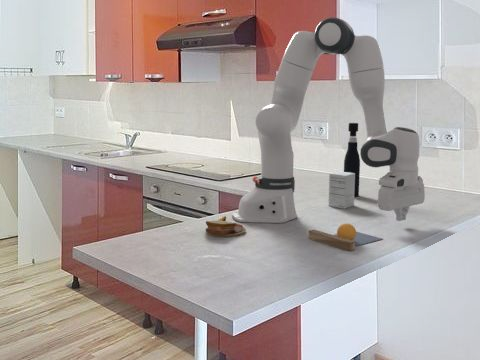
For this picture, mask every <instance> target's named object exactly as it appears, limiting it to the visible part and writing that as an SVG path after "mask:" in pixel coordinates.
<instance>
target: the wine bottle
mask: <svg viewBox="0 0 480 360" xmlns="http://www.w3.org/2000/svg"><path fill="white" fill-rule="evenodd" d="M347 131H348V132H349V138H348V142H347V150H346V153H345V156H344V160H343V172H350V173H355V191H354V198H358V197H359V196H360V175H361V174H360V173H361V172H360V170H361V169H360V168H361V160H360V158H361V157H360V154H359V150H358V138H357V132H359V123H357V122H349V123H348V130H347Z"/></svg>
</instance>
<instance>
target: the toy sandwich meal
mask: <svg viewBox="0 0 480 360" xmlns="http://www.w3.org/2000/svg"><path fill="white" fill-rule="evenodd" d="M226 220H227V216H222V217H221V218H220V219H218V220H206V221H205V224H206V226H207V227H206V228H205V232H206V233H207V234H208V235H210V236H212V237H218V238H233V237H239V236H242V235H243V234H245V232H246V231H247V229H246V228H245V227H244V226H243V224H239V223H237V222H232V221H226Z"/></svg>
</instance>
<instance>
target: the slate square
mask: <svg viewBox="0 0 480 360" xmlns="http://www.w3.org/2000/svg"><path fill="white" fill-rule="evenodd" d="M333 235H335V236H337V233H335V234H333ZM381 240H383V238H381V237H378V236H375V235H371V234H368V233H367V234H366V233H363V232H359V231H356V236H355V238H354V239H353V240H352V241H355V247H359V246H363V245H367V244H370V243H374V242H377V241H378V242H379V241H381Z"/></svg>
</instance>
